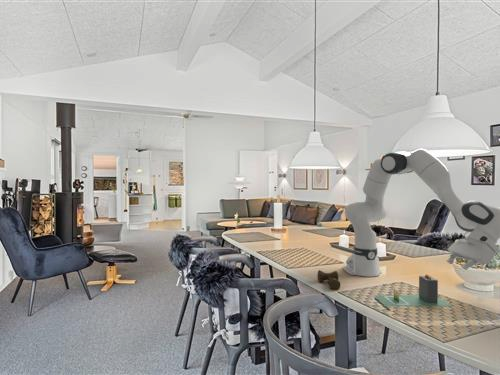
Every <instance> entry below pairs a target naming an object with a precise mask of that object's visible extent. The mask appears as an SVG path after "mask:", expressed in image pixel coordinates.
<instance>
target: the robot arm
mask: <svg viewBox="0 0 500 375" xmlns="http://www.w3.org/2000/svg"><path fill="white" fill-rule="evenodd" d="M413 172H414V173H415V174H416V175H417V176H418V177H419V179H421V180H422V182H424V183H425V185H427V186H428V187H429V188H430V190H432V192H433V193H434V194H435V195H436V196H437V197H438V199H439V200H440V201H441V202H442V203H443V205H445V207H446V208H447V209H448V210H449V211H450V213H451V214H452V216H453V218H454V220H455V221H454V222H455V223H456V226H457V227H458V228H459V229H460V230H462V231H464V232H468V233H469V234H468V235H467V236H466V237H464V238H459V239H457V240H456V241H454V242H453V243H452V244H451V245H450V246H448V248H447V251H448V252H449V254H450V255H449V256H448V259H447V260H446V262H447V263H448V264H450V265H453V263H455V259H457V258H459V259H463V260H466V261H467V262H465V263H462V265H461V268H462V269H463V270H465V271H468V269H469V268H471V267H473V266H475V265H476V264H477V265H481V266H485V265H487V264H489V263H490V262H491V261H492V260H493V259H494V257H495V256H496V255H497V254H499V253H500V248H499V246H498V245H497V242H498V240H499V239H500V207H494V206H491V205H487V204H484V203H482V202H481V201H478V200H469V201H466V202H465V203H464V202H463V201H462V200H461V199H460V198H459V197H458V196H457V195H456V193H455V192H454V189H453V188H452V183H451V182H452V181H451V174H450V171H449V170H448V168H447V167H446V165H444V163H442V161H440V159H438V158H437V157H436V156H435V155H434V154H433V153H431V152H430V151H429V150H427V149H424V148H418V149H416V150H414V151H412V152H410V151H395V152H394V151H393V152H389V153H386V154H384V155H383V157H381V158H377V159H376V160H374V162H373V163H372V165H371V166H370V169H369V171H368V173H367V176H366V179H365V182H364V184H363V187H362V191H363V193H364V195H365V200H364V201H360V202H357V201H356V202H352V203H350V204H348V205H346V207H345V210H344V215H345V218H346V219H347V220H348V221H349V222H350V223H351V226H352V228H353V232H354V246H353V247H352V249H353V252H352V254H351V255H350V256H349V257H348V258H347V259H346V262H345V263H346V265H344V266H342V269H343V270H344V271H345V272H346V273H348V274H349V275H352V276H353V275H354V276H359V277H367V278H368V277H371V278H372V277H378V276H380V275H381V274H382V270H380V259H379V257H378V248H377V232H375V230H373V229H372V225H371V223H374V222H379V221H381V220H383V219H385V217H386V215H387V207H386V206H385V204H384V197H385V194H386V190H387V187H388V185H389V182H390V179H391V177H392V175H403V174H410V173H413Z"/></svg>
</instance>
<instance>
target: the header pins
mask: <svg viewBox="0 0 500 375" xmlns="http://www.w3.org/2000/svg"><path fill="white" fill-rule="evenodd" d="M393 295H394V299H395V300H396V301H397V302H399V295H400V291H398V290H397V289H396V288H394V289H393Z"/></svg>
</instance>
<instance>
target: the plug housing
mask: <svg viewBox="0 0 500 375" xmlns="http://www.w3.org/2000/svg"><path fill="white" fill-rule="evenodd" d="M418 282H419V283H418V295H419V298H420V299H422V300H424V301H425V302H427V303H438V297H439V296H438V295H439V294H438V291H439V290H438V288H439V287H438V286H439V285H438V284H439V283H438V282H439V280H438V279H435V278H434V277H432V276H431V275H429V274H425V275H419V276H418Z"/></svg>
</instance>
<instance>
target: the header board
mask: <svg viewBox="0 0 500 375" xmlns="http://www.w3.org/2000/svg"><path fill="white" fill-rule="evenodd" d="M373 299H374V301H376V302H378V303H379V304H380V305H381V306H382V307H383V308H384V309H385V310H387V311H391V309H390V308H389V307H454V305H453V304H451V303H450V302H448V301H446V300H445V299H443V298H441V297H439V296H438V303H427V302H425V301H424V300H422V299H420V298H419V294H399V302H397V301H396V300H395V299H394V294H390V295H388V294H382V295H381V294H374V298H373Z"/></svg>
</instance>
